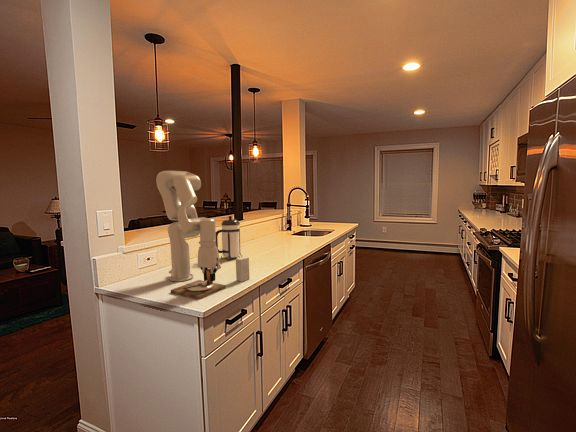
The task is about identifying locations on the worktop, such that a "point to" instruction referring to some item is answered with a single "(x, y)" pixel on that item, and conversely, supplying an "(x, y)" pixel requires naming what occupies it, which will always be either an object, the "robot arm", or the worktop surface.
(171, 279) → the robot arm
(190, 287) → the dial
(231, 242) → the coffee press
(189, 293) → the dial plate
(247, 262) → the skincare box
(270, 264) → the worktop surface
